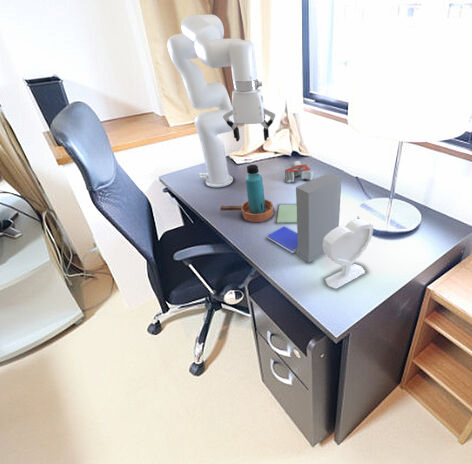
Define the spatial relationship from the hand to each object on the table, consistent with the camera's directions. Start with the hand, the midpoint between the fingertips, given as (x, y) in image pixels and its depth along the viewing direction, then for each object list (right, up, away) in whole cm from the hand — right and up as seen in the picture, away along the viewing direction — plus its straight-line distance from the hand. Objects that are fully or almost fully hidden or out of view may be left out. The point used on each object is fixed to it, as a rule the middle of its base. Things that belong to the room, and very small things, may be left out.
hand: (252, 139), depth 110 cm
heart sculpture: (+30, -45, -14) cm, 56 cm away
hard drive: (+13, -35, +1) cm, 37 cm away
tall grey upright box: (+22, -38, -3) cm, 44 cm away
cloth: (+13, -25, +16) cm, 32 cm away
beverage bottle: (0, -25, +16) cm, 30 cm away
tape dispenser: (+16, -5, +45) cm, 48 cm away
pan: (0, -25, +16) cm, 30 cm away
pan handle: (-10, -23, +15) cm, 29 cm away
